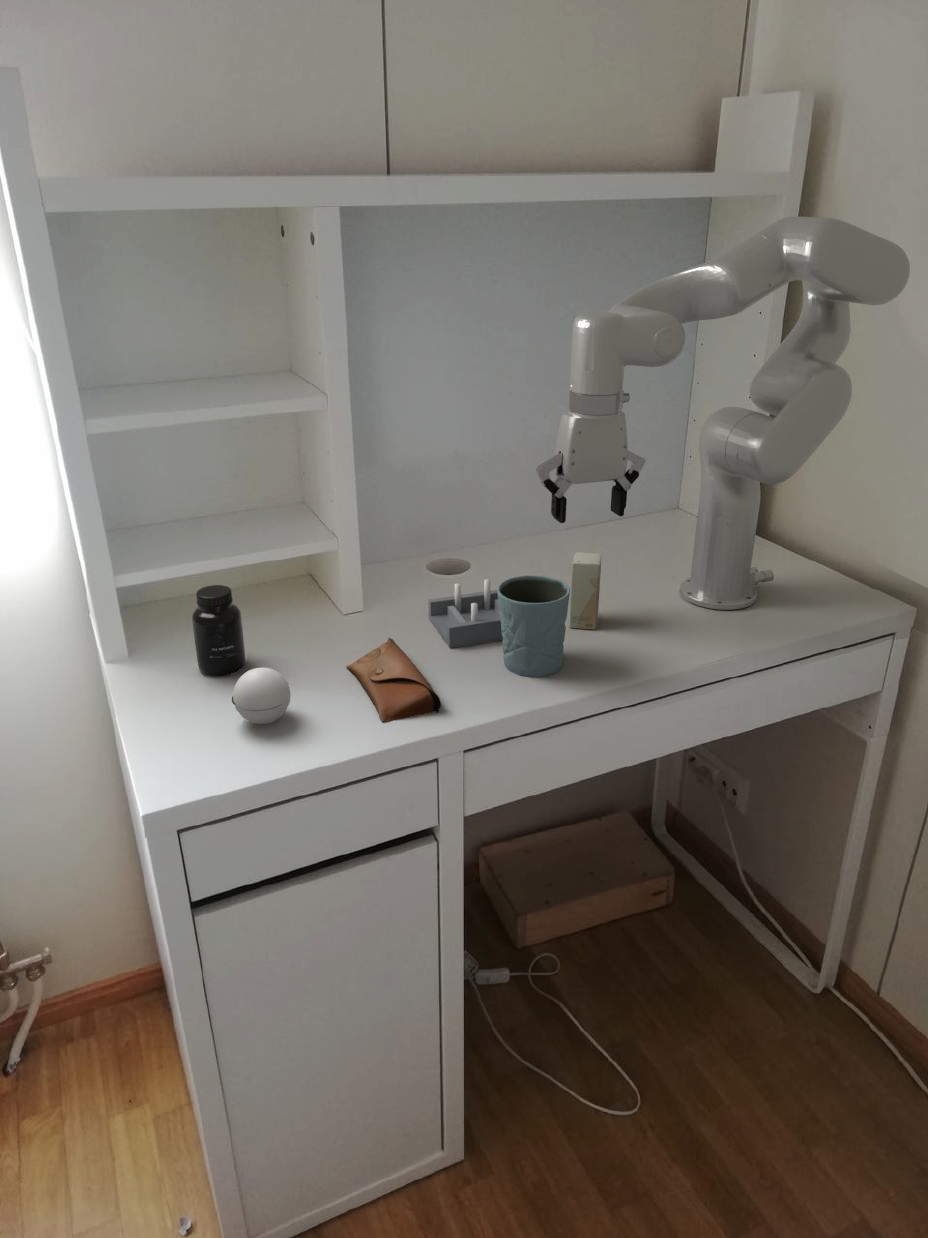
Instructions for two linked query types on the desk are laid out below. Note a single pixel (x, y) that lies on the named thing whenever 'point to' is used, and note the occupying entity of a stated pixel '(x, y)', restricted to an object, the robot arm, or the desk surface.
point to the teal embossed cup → (533, 624)
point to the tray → (467, 617)
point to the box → (585, 590)
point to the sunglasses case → (394, 683)
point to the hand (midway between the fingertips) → (588, 516)
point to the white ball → (261, 695)
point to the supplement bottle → (218, 632)
